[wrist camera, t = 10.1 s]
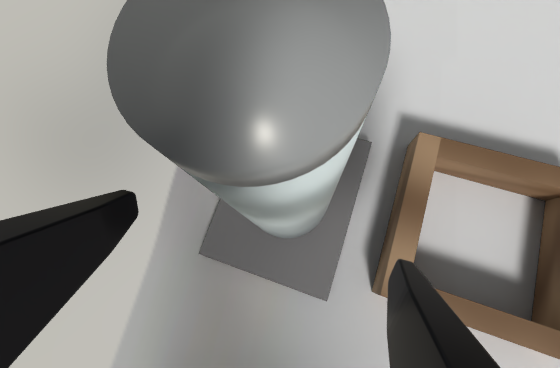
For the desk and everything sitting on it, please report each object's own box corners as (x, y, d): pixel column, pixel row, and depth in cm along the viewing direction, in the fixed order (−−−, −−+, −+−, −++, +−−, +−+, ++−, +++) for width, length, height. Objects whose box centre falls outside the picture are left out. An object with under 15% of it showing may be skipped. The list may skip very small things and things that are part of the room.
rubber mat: (326, 300, 16) (326, 301, 16) (202, 253, 18) (198, 253, 17) (369, 145, 18) (371, 142, 18) (256, 115, 20) (255, 111, 19)
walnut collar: (553, 356, 14) (591, 370, 13) (371, 291, 16) (380, 295, 14) (570, 188, 17) (604, 178, 15) (407, 145, 18) (419, 131, 16)
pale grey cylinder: (314, 250, 16) (343, 213, 4) (235, 222, 17) (55, 121, 5) (337, 172, 18) (419, -47, 5) (263, 150, 18) (176, -85, 6)
